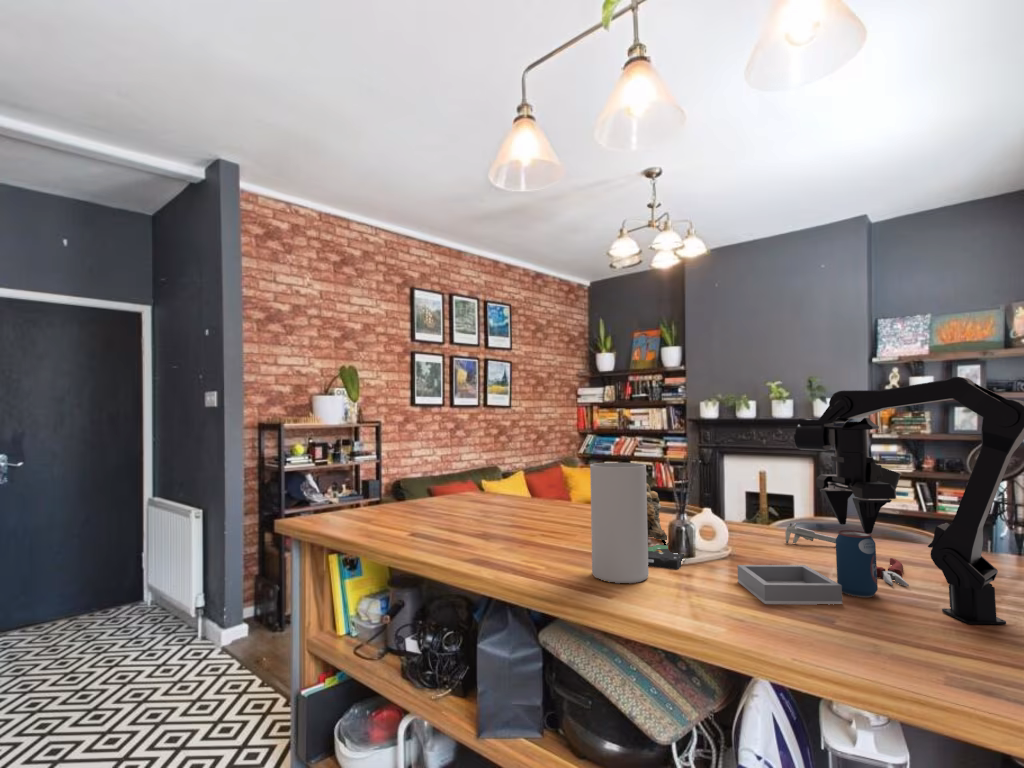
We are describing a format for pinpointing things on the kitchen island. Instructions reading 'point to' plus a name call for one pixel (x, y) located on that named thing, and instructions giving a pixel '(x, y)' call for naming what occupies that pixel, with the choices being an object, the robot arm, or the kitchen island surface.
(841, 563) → the soda can
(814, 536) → the caliper
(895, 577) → the pliers
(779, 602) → the tray
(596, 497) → the cylinder vase
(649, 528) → the owl figurine
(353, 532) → the kitchen island surface
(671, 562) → the disk drive
